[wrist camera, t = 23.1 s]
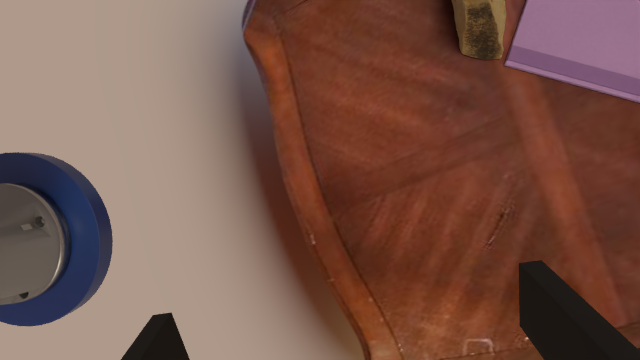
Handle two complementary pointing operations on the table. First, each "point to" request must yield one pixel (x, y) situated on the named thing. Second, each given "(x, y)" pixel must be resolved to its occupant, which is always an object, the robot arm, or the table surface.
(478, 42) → the rock
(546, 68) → the lavender flat block
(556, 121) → the table surface
